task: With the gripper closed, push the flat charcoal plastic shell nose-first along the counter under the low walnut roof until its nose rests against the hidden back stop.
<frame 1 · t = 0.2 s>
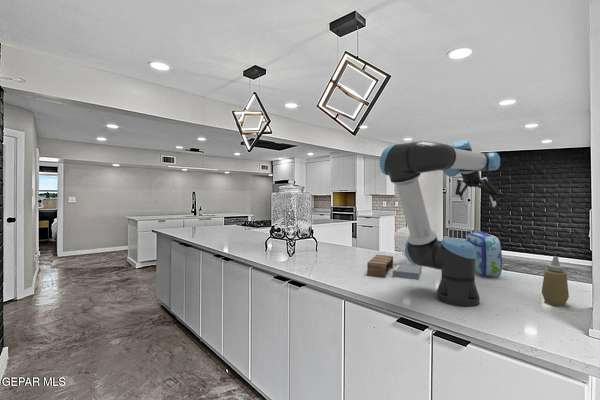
hand: (480, 205, 161), 35 cm above the counter, tool tilted 35°, fingers open, 13 cm apart
lunch box: (481, 272, 165), on the counter
heart: (414, 264, 184), on the counter
squeeze bottle: (554, 304, 119), on the counter
walnut tunnel: (380, 271, 167), on the counter
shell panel: (407, 275, 161), on the counter
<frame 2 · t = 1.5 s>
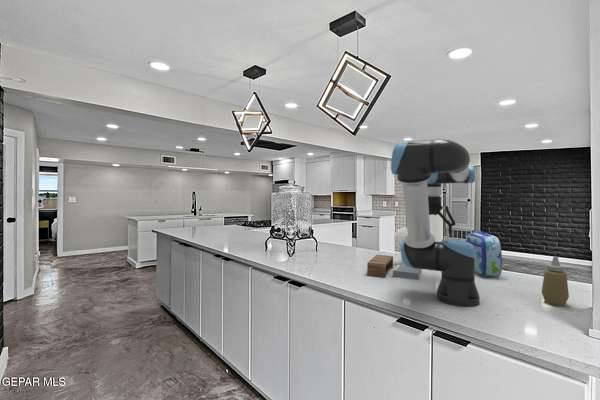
hand: (432, 238, 156), 19 cm above the counter, tool pointing down, fingers open, 13 cm apart
nothing on the counter moved.
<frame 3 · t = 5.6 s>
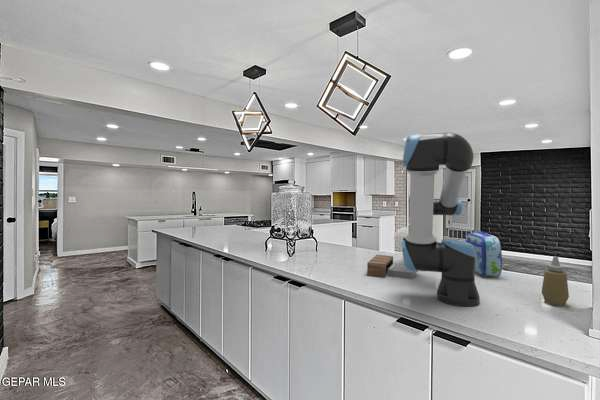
hand: (416, 271, 160), 2 cm above the counter, tool pointing down, fingers closed
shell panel: (402, 274, 163), on the counter
everything else where it was.
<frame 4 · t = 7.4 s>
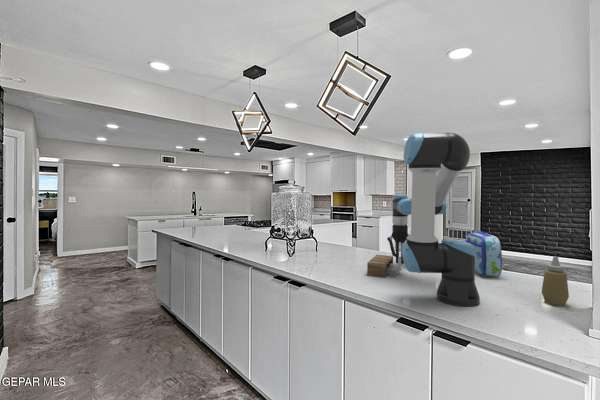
hand: (399, 269, 163), 2 cm above the counter, tool pointing down, fingers closed
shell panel: (386, 272, 166), on the counter, touching gripper, walnut tunnel
everything else where it was.
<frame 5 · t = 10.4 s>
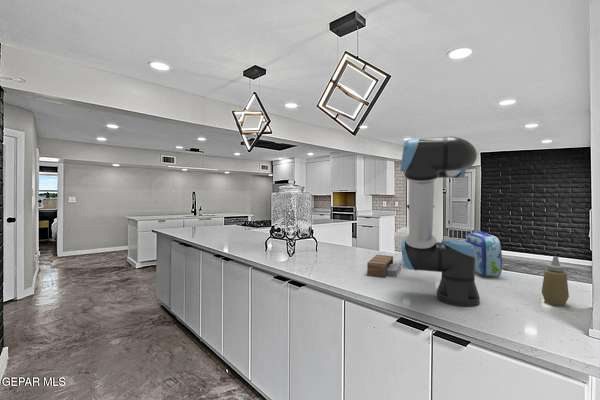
hand: (420, 238, 157), 19 cm above the counter, tool pointing down, fingers closed
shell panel: (386, 273, 166), on the counter
everything else where it was.
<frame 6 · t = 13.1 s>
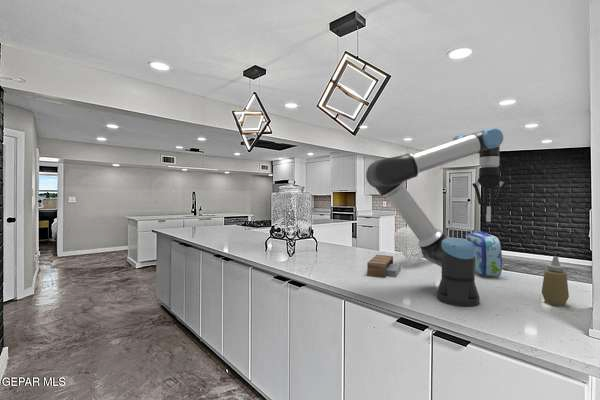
hand: (488, 221, 137), 29 cm above the counter, tool pointing down, fingers closed
nothing on the counter moved.
at the end: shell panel 0.0 cm from the target spot, on the counter; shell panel tilted 0°; the gripper is holding nothing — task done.
